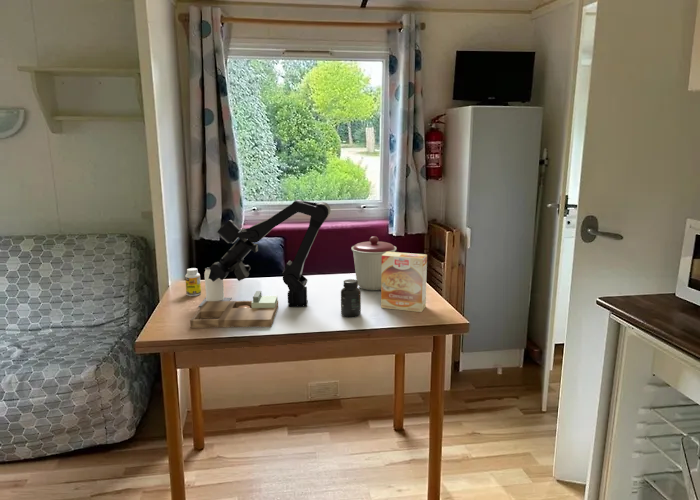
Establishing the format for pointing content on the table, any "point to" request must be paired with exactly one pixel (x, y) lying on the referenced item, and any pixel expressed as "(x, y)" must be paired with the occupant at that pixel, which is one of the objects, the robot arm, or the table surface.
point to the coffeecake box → (403, 281)
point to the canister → (370, 262)
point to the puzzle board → (232, 315)
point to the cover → (263, 301)
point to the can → (213, 288)
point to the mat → (206, 300)
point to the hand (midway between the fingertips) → (210, 281)
